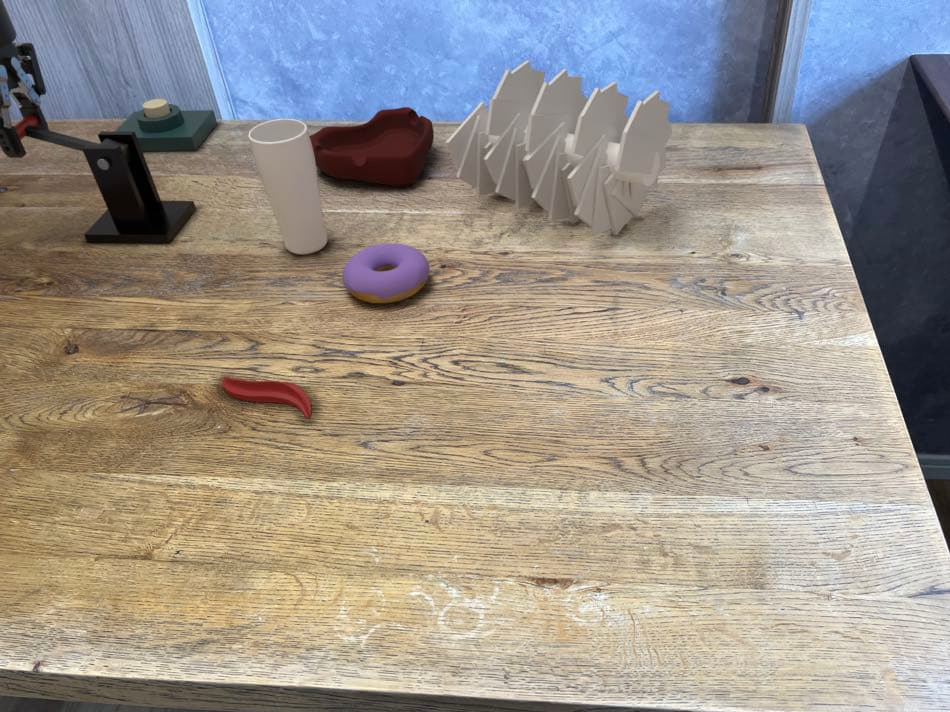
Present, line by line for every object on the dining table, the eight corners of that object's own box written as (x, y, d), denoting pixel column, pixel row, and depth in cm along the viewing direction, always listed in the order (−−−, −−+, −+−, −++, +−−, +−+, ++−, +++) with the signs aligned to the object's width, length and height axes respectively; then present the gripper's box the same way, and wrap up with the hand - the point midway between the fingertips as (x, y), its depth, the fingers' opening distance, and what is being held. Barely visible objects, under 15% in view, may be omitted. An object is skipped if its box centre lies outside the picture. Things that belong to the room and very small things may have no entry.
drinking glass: (336, 254, 101) (309, 138, 91) (280, 263, 100) (247, 147, 90) (332, 227, 106) (306, 114, 96) (279, 236, 105) (246, 122, 95)
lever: (5, 145, 99) (2, 126, 97) (27, 127, 102) (24, 109, 101) (117, 174, 100) (115, 157, 99) (135, 156, 104) (133, 139, 102)
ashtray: (355, 210, 109) (348, 175, 106) (304, 167, 119) (295, 134, 116) (467, 170, 117) (464, 136, 113) (410, 133, 126) (405, 101, 123)
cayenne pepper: (326, 405, 80) (322, 391, 79) (289, 432, 77) (284, 417, 76) (250, 361, 86) (244, 346, 84) (213, 384, 83) (207, 370, 82)
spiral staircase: (512, 202, 117) (667, 242, 106) (432, 199, 103) (601, 245, 91) (535, 67, 111) (701, 93, 100) (452, 44, 97) (636, 72, 85)
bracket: (87, 242, 105) (47, 156, 97) (118, 208, 112) (83, 124, 104) (169, 243, 104) (135, 156, 96) (196, 208, 111) (166, 124, 103)
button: (142, 119, 125) (138, 108, 124) (151, 110, 127) (147, 99, 126) (165, 119, 125) (161, 107, 123) (174, 109, 127) (170, 98, 126)
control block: (113, 151, 125) (102, 126, 122) (139, 124, 132) (130, 100, 130) (196, 150, 124) (187, 125, 122) (217, 123, 132) (209, 98, 129)
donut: (420, 252, 100) (417, 222, 96) (439, 306, 95) (437, 276, 91) (339, 269, 98) (332, 238, 94) (353, 324, 92) (347, 295, 89)
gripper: (-33, -20, 95) (31, 121, 107) (-114, 20, 85) (-33, 172, 96) (29, -20, 95) (86, 122, 106) (-45, 20, 84) (27, 173, 96)
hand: (29, 145), depth 101 cm, fingers closed on lever, 5 cm apart
